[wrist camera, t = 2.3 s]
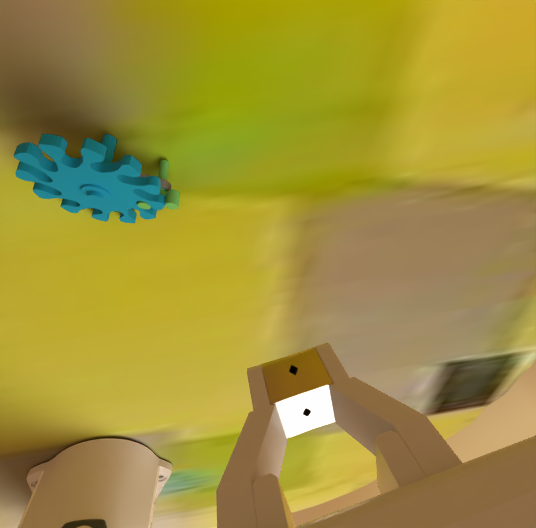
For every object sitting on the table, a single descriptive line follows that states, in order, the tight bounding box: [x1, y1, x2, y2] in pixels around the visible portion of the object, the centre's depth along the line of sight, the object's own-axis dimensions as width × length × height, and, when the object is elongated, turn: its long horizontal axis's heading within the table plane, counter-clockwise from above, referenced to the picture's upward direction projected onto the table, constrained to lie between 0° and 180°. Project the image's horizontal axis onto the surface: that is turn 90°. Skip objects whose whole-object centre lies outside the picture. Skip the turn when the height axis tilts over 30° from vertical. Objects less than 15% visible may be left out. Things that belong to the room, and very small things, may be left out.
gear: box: [14, 134, 180, 223], centre depth 22 cm, size 11×6×10 cm
